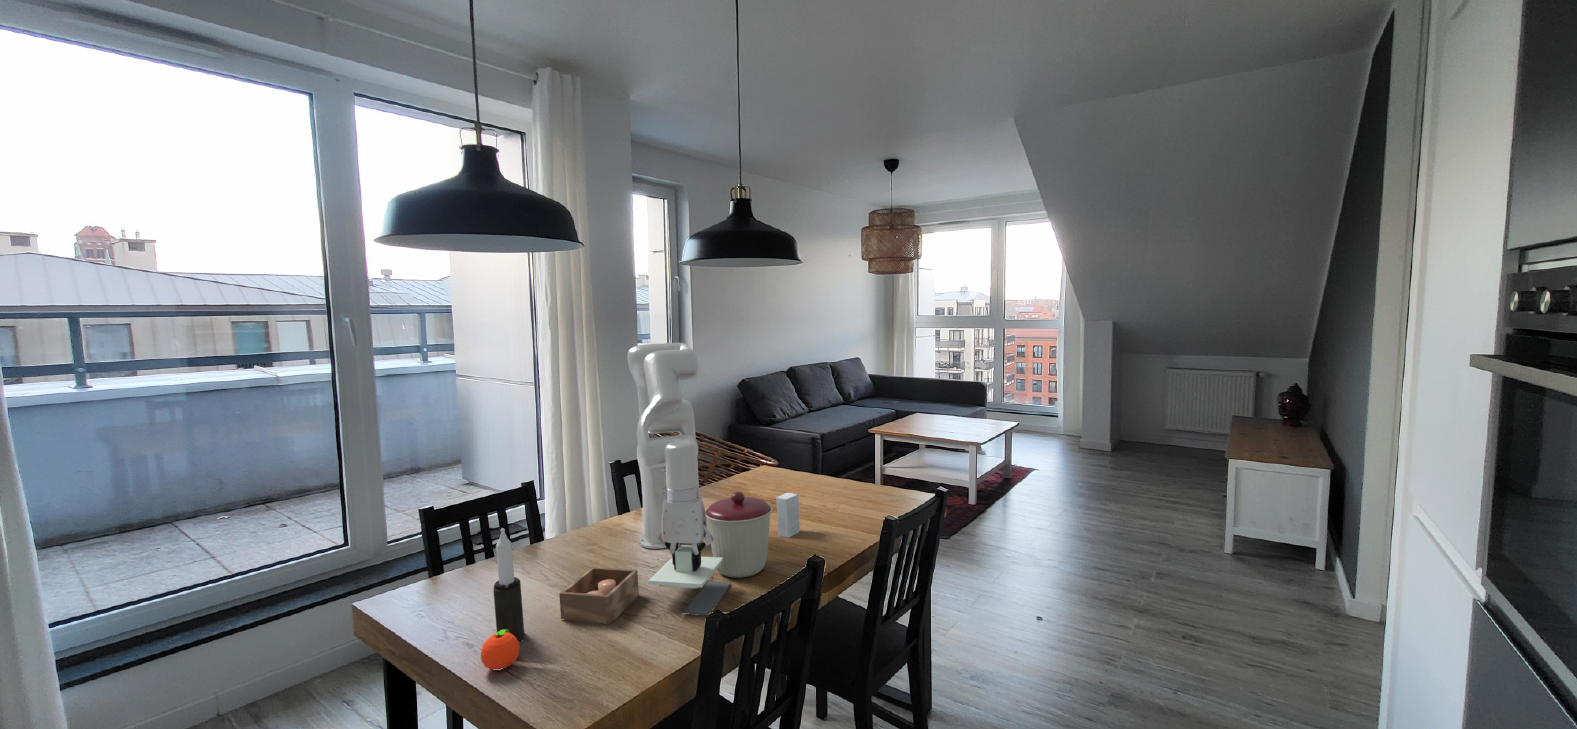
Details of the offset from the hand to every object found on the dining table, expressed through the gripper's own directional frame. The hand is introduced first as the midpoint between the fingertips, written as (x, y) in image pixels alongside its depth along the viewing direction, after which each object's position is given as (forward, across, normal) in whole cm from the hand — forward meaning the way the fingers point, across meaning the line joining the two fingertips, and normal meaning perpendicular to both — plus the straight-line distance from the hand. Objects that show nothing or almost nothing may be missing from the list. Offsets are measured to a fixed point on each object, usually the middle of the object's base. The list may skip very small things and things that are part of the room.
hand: (687, 567), depth 147 cm
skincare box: (+8, +15, +44) cm, 47 cm away
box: (+7, -18, -9) cm, 21 cm away
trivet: (+8, 0, 0) cm, 8 cm away
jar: (+7, -18, -12) cm, 23 cm away
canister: (+8, +8, +17) cm, 20 cm away
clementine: (+8, -26, -33) cm, 43 cm away
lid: (+2, 0, 0) cm, 2 cm away
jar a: (+7, -18, -6) cm, 20 cm away
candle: (+8, -30, -25) cm, 40 cm away
